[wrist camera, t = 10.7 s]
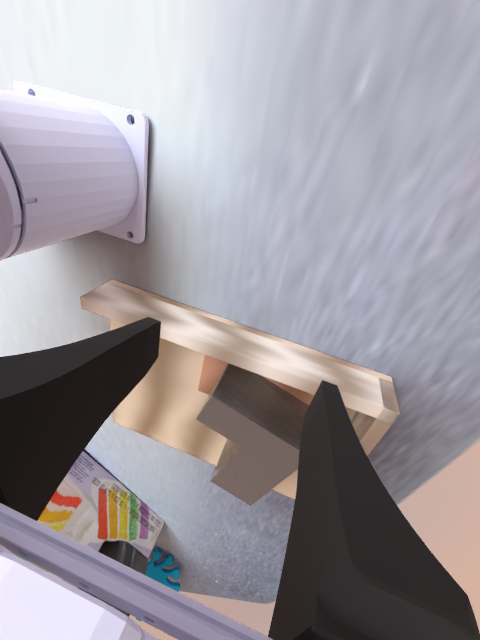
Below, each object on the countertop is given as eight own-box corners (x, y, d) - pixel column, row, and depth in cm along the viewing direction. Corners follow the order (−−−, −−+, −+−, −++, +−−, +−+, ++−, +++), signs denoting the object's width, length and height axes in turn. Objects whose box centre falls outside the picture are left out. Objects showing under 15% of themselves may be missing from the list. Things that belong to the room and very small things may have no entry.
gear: (193, 583, 47) (145, 639, 45) (193, 559, 53) (151, 608, 51) (145, 534, 47) (96, 588, 45) (151, 516, 53) (107, 563, 51)
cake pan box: (173, 526, 43) (86, 718, 28) (153, 528, 46) (64, 706, 31) (79, 439, 39) (-81, 612, 24) (62, 447, 41) (-91, 609, 27)
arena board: (116, 418, 34) (94, 443, 31) (112, 279, 24) (80, 296, 21) (308, 499, 31) (304, 536, 28) (391, 377, 21) (400, 413, 18)
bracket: (262, 459, 28) (250, 505, 25) (192, 416, 28) (170, 456, 25) (316, 409, 23) (312, 458, 20) (232, 357, 23) (211, 396, 20)
